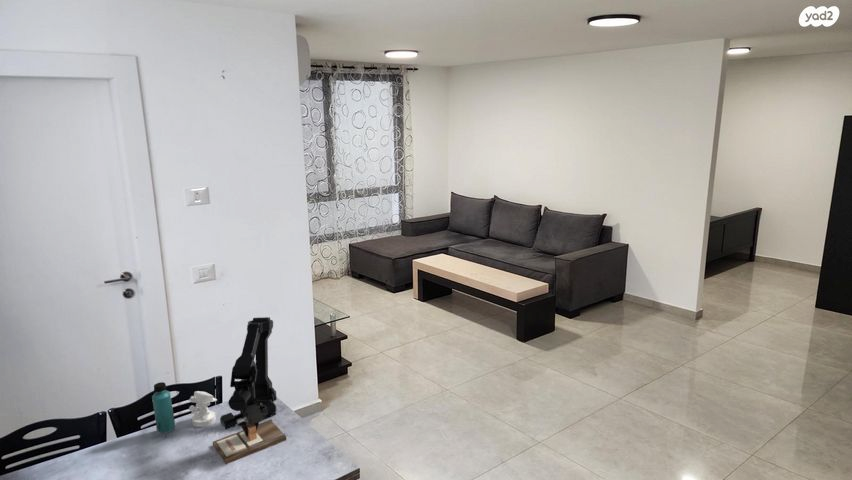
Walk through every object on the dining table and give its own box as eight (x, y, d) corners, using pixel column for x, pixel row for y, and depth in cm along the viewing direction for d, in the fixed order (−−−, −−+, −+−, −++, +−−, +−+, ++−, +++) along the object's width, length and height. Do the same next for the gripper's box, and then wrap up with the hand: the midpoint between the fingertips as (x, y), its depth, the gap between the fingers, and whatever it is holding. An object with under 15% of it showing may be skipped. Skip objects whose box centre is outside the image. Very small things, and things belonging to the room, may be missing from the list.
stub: (239, 434, 197) (238, 420, 196) (252, 429, 200) (251, 416, 199) (249, 447, 189) (248, 433, 188) (263, 441, 192) (261, 427, 191)
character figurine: (187, 422, 208) (184, 394, 206) (209, 411, 216) (206, 384, 213) (200, 429, 203) (197, 401, 201) (222, 418, 211) (219, 390, 208)
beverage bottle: (179, 427, 205) (173, 379, 200) (169, 437, 198) (162, 388, 194) (163, 426, 206) (156, 379, 201) (153, 436, 199) (145, 388, 195)
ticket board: (213, 445, 193) (212, 439, 193) (271, 423, 207) (270, 418, 206) (225, 464, 183) (225, 458, 182) (286, 440, 196) (285, 434, 195)
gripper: (228, 414, 179) (232, 455, 183) (280, 396, 190) (284, 435, 194) (217, 401, 188) (222, 440, 191) (268, 384, 199) (271, 421, 202)
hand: (250, 434), depth 194 cm, fingers closed on stub, 2 cm apart
